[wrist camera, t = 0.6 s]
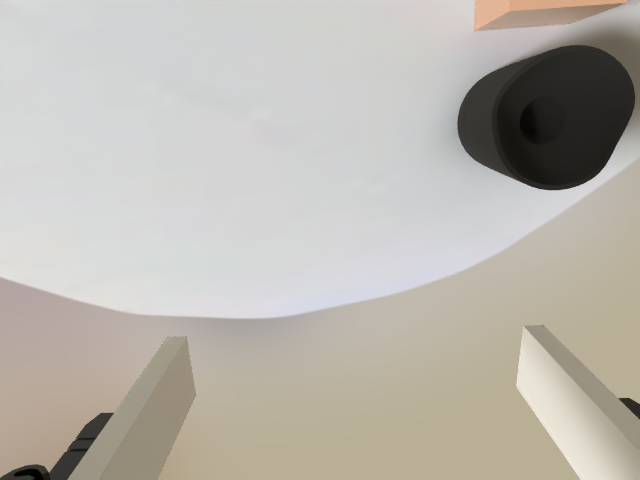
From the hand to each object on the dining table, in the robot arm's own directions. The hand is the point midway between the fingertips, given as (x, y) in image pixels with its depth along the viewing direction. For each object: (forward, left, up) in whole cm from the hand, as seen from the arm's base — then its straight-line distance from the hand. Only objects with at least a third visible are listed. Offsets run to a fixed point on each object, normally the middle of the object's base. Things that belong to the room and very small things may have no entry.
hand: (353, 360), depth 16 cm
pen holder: (-8, +16, -25) cm, 31 cm away
